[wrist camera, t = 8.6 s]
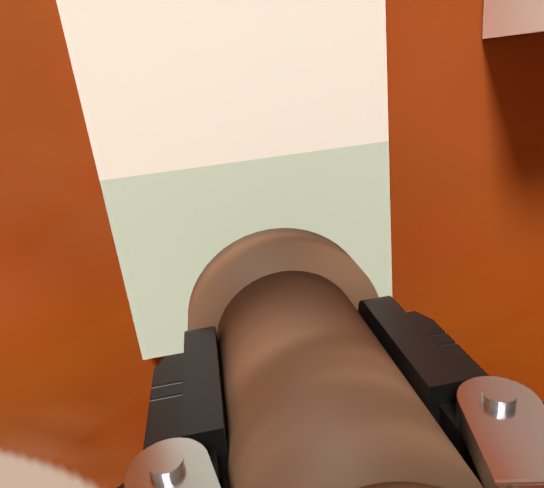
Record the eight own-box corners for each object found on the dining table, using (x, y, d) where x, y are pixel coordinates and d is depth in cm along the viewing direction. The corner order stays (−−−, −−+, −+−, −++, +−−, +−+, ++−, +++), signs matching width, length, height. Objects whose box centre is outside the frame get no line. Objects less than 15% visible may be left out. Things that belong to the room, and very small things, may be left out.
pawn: (363, 214, 12) (1031, 743, 3) (370, 373, 14) (783, 1059, 4) (172, 244, 12) (68, 1069, 2) (203, 406, 14) (232, 1280, 4)
